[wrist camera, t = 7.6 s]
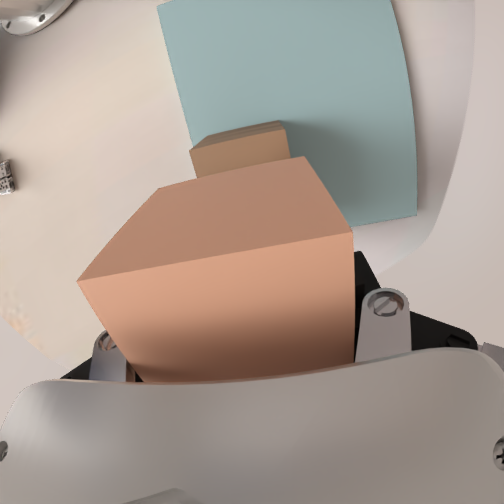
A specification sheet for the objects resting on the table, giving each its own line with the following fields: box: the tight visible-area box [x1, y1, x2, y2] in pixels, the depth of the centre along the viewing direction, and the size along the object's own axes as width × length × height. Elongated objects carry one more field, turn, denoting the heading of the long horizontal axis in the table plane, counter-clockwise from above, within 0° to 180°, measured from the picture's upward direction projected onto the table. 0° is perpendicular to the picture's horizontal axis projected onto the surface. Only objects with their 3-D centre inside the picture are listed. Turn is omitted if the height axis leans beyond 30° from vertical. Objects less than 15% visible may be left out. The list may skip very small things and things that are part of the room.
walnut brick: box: [189, 120, 291, 178], centre depth 20 cm, size 8×6×6 cm
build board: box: [157, 0, 417, 227], centre depth 20 cm, size 22×18×1 cm
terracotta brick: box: [77, 156, 355, 382], centre depth 10 cm, size 8×6×6 cm
